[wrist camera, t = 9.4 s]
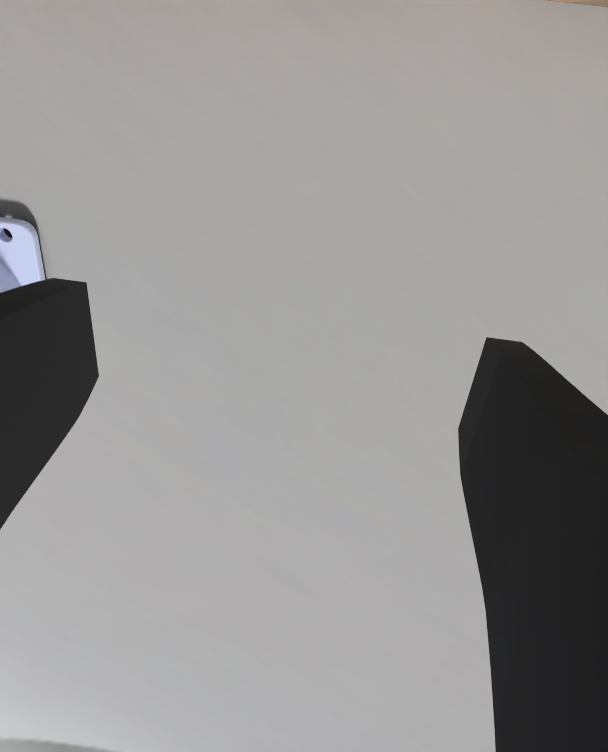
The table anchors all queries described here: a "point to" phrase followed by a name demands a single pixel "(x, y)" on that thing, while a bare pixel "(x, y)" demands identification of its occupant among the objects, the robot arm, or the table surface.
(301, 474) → the table surface
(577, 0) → the wooden tray
